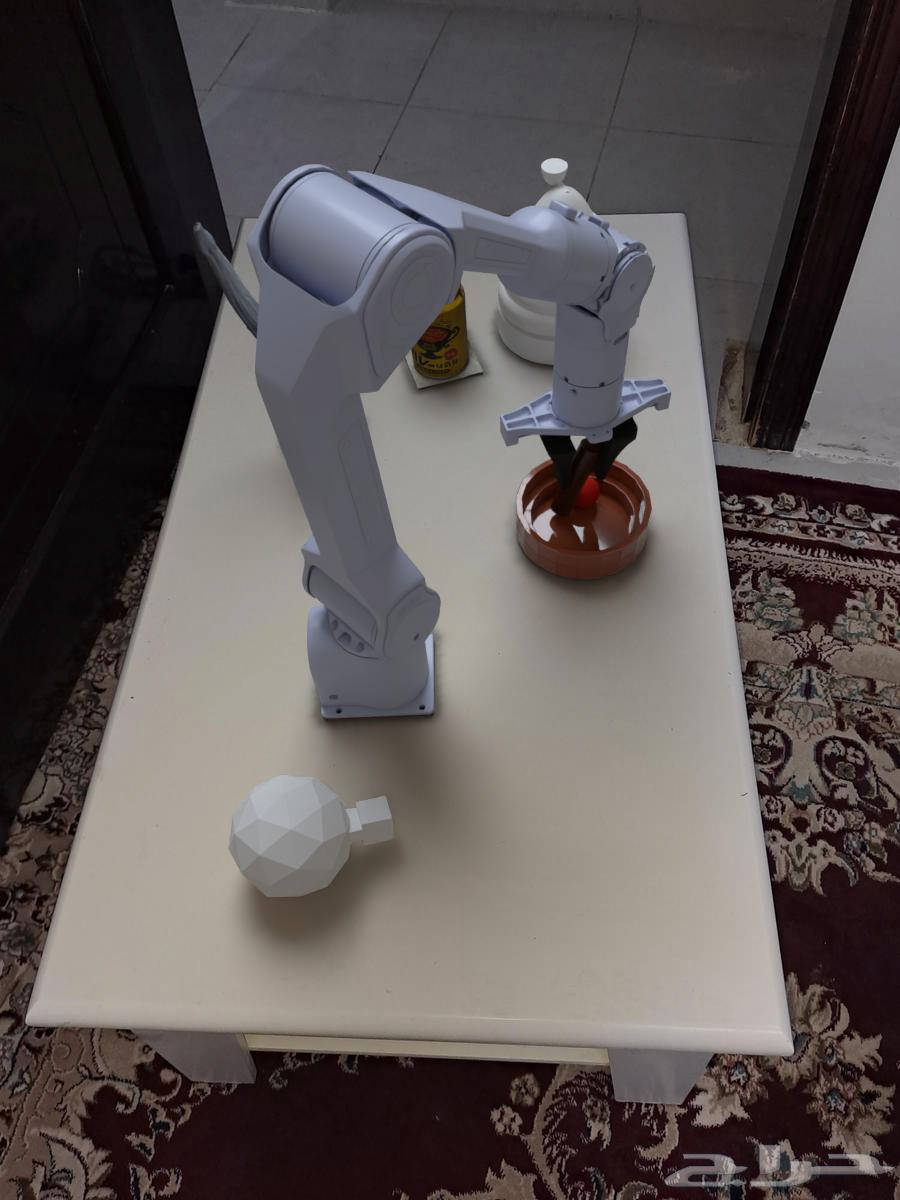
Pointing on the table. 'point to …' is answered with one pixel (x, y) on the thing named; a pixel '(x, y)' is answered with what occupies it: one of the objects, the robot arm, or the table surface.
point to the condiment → (444, 347)
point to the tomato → (588, 494)
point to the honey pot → (534, 320)
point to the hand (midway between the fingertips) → (579, 476)
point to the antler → (228, 280)
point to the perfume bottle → (300, 834)
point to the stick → (576, 477)
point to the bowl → (583, 524)
